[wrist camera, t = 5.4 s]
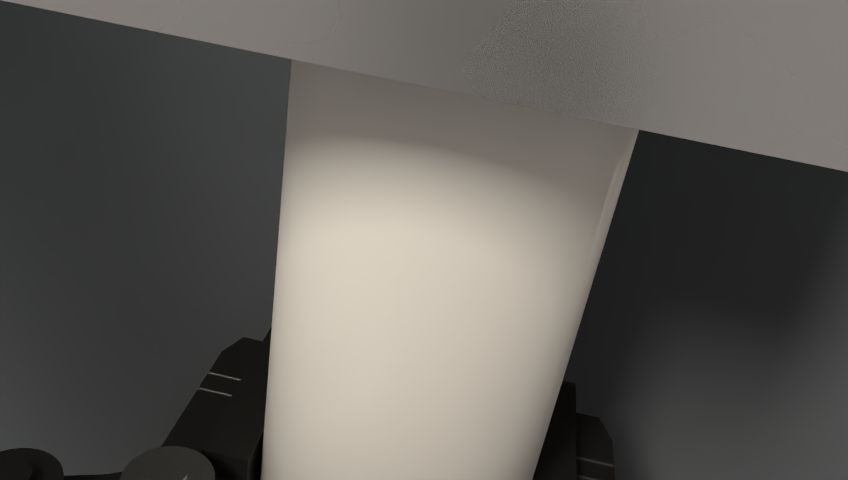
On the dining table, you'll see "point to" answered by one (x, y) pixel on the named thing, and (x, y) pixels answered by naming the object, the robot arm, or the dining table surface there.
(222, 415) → the robot arm
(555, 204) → the tube
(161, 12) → the grey block
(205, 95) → the dining table surface
